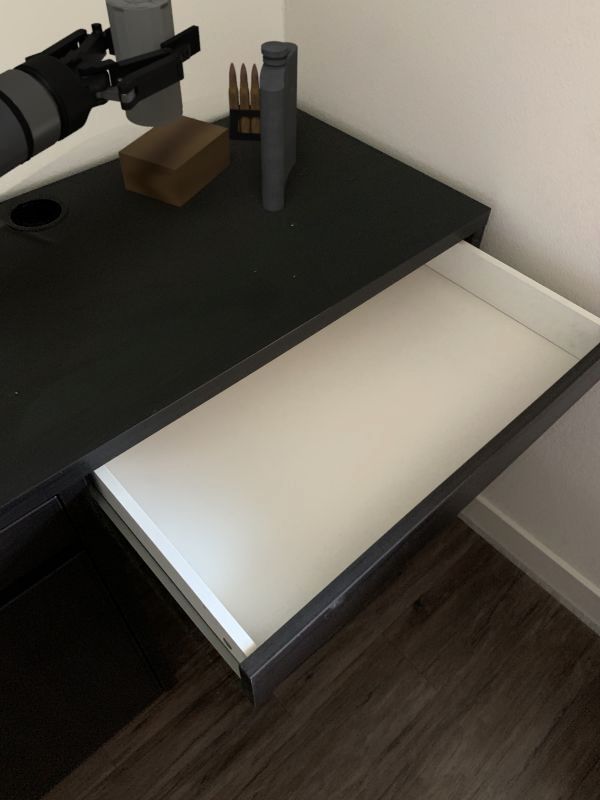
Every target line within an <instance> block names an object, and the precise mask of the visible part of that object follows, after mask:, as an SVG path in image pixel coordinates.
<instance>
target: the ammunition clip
mask: <svg viewBox="0 0 600 800" xmlns="http://www.w3.org/2000/svg"><path fill="white" fill-rule="evenodd" d="M259 78H260V76H259V71H258V67H257V64H256V63H253V64H252V67H251V73H250V88H249V79H248V71H247V67H246V65H245V63H244V62H242V63H241V66H240V71H239V88H238V80H237V79H238V78H237V71H236V68H235V65H234V63H233V62H230V65H229V69H228V107H229V108H228V109H229V110H228V111H229V113H228V114H229V115H228V116H229V121H228V122H229V140H235V141H236V140H237V141H257V142H258V141H259V142H261V127H260V87H259Z"/></svg>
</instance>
